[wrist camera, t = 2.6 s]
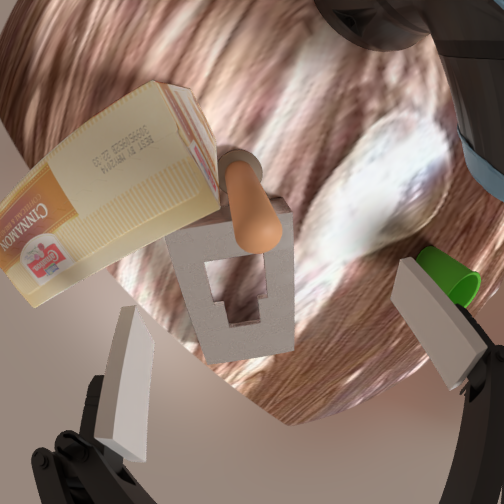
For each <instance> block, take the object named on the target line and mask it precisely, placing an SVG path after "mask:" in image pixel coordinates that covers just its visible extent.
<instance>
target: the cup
mask: <svg viewBox="0 0 504 504" xmlns="http://www.w3.org/2000/svg"><path fill="white" fill-rule="evenodd" d="M416 262H417V263H418V264H419V265H420V266H421V268H422V269H423V270H424V271H425V272H426V273H427V274H428V275H429V276H430V277H431V278H432V279H433V281H434V282H435V283H436V284H437V285H438V286H439V287H440V288H441V289H442V291H443V292H444V293H445V294H446V295H447V296H448V298H449V299H450V300H451V301H452V302H453V303H454V304H457V303H458V304H460V305H461V306H463V307H464V308H466V307H467V306H468V305H469V304H470V302H471V301H472V300H473V298H474V297H475V295H476V293H477V291H478V289H479V286H480V282H481V278H480V275H479V273H478V272H476V271H471V270H470V269H468V268H467V267H466V266H464V265H463V264H461V263H459V262H458V261H456V260H455V259H453V258H452V257H450V256H449V255H447V254H446V253H444V252H442V251H441V250H439V249H438V248H436V247H433V246H428V247H426V248H424V249H423V250H422V251H421V252H420V253H419V255H418V257H417V259H416Z"/></svg>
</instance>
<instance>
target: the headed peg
mask: <svg viewBox="0 0 504 504" xmlns="http://www.w3.org/2000/svg"><path fill="white" fill-rule="evenodd" d="M217 165H218V182H219V187H220V188H221V189H222V190H223V191H224V192H225V193H227V194H228V199H229V205H230V211H231V217H232V222H233V228H234V234H235V239H236V242H237V244H238V245H239V247H240V248H241V249H243V250H244V251H246V252H249V253H253V254H261V253H265V252H268V251H270V250H271V249H273V248H274V247H275V246H276V245H277V244H278V243H279V241H280V239H281V237H282V225H281V223H280V220H279V218H278V217H277V215H276V213H275V211H274V209H273V207H272V205H271V203H270V201H269V199H268V197H267V195H266V193H265V191H264V189H263V187H262V186H261V184H260V182H261V180H262V167H261V164H260V162H259V161H258V159H257V158H256V157H255V156H254V155H253V154H252V153H250V152H248V151H245V150H232V151H229V152H227V153H226V154H224V155H223V156H222V157H221V158H220V159H219V161H218V163H217Z"/></svg>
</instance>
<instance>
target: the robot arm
mask: <svg viewBox="0 0 504 504" xmlns="http://www.w3.org/2000/svg"><path fill="white" fill-rule="evenodd" d="M314 1H315V4H316V6H317V8H318V9H319V11H320V13H321V14H322V16H323V17H324V18H325V20H326V21H327V22H328V23H329V24H330V25H331V26H332V27H333V28H334V29H335V30H336V31H337V32H338V33H339V34H341V35H342V36H343V37H345V38H346V39H347V40H349V41H351V42H352V43H354V44H356V45H358V46H361V47H363V48H366V49H369V50H373V51H379V52H388V51H399V50H403V49H406V48H409V47H411V46H413V45H414V44H416V43H417V42H418V41H420V40H421V39H423V38H424V37H426V36H427V35H429V34H430V33H431V36H432V38H433V40H434V43H435V45H436V48H437V51H438V54H439V57H440V60H441V63H442V65H443V68H444V71H445V74H446V78H447V81H448V84H449V87H450V91H451V95H452V98H453V102H454V106H455V111H456V115H457V120H458V125H457V131H458V135H459V137H460V139H461V141H462V146H463V150H464V156H465V160H466V164H467V166H468V169H469V171H470V173H471V174H472V176H473V177H474V178H475V179H476V181H477V182H478V183H480V184H481V185H482V186H483V188H484V189H485V190H486V191H487V192H489V193H490V194H492V195H493V196H494V197H496V198H498V199H499V200H501V201H503V202H504V0H314ZM390 300H391V301H392V302H393V304H394V305H395V307H396V308H397V309H398V311H399V312H400V314H401V315H402V317H403V318H404V319H405V321H406V322H407V324H408V325H409V327H410V328H411V330H412V331H413V333H414V334H415V336H416V337H417V339H418V340H419V342H420V343H421V345H422V346H423V348H424V350H425V351H426V353H427V354H428V356H429V357H430V359H431V361H432V362H433V364H434V365H435V367H436V369H437V370H438V372H439V374H440V375H441V377H442V378H443V380H444V382H445V384H446V385H447V387H448V389H449V390H452V389H454V388H455V387H457V386H459V385H461V383H462V382H463V381H464V380H465V378H466V377H467V378H468V380H469V381H468V382H467V384H466V385H465V386H464V387H463V389H462V390H461V391H460V395H461V394H462V393H463V392H464V391H465V390H466V393H465V394H464V396H465V403H464V410H463V416H462V421H461V427H460V432H459V437H458V442H457V446H456V450H455V455H454V459H453V462H452V466H451V469H450V473H449V476H448V479H447V482H446V485H445V488H444V491H443V494H442V497H441V500H440V502H439V504H497V503H498V499H499V495H500V491H501V488H502V498H501V504H504V346H502V345H495V344H494V343H493V342H492V341H491V339H490V338H489V337H488V336H487V334H486V333H485V332H484V330H483V329H482V328H481V326H480V325H479V324H477V322H476V320H475V319H474V318H472V315H471V314H470V313H469V312H468V310H467V309H466V308H464V307H463V306H461V305H460V304H458V303H457V304H454V303H453V302H452V301H451V300H450V299H449V298H448V296H447V295H446V294H445V293H444V292H443V291H442V289H441V288H440V287H439V286H438V285H437V284H436V283H435V282H434V281H433V279H432V278H431V277H430V276H429V275H428V274H427V273H426V272H425V271H424V270H423V269H422V268H421V266H420V265H419V264H418V263H417V262H416V261H415V260H414V259H413V258H412V257H408V258H404V259H400V262H399V266H398V271H397V275H396V279H395V283H394V287H393V291H392V295H391V298H390ZM154 344H155V343H154V341H153V339H152V337H151V335H150V333H149V331H148V329H147V327H146V325H145V323H144V321H143V319H142V317H141V315H140V313H139V311H138V308H137V306H136V305H135V306H127V307H122V308H121V312H120V315H119V319H118V322H117V326H116V329H115V333H114V337H113V341H112V345H111V349H110V353H109V357H108V362H107V366H106V371H105V375H95V376H94V378H93V379H92V381H91V382H90V384H89V386H88V391H87V395H86V396H87V398H86V400H85V406H84V410H83V415H82V420H81V426H80V432H79V434H77V433H76V432H74V431H72V430H66V431H64V432H61V433H60V435H58V436H57V438H56V441H55V452H51V451H50V450H48V449H46V448H43V447H42V448H38V449H36V450H35V451H34V453H33V455H32V458H31V464H32V469H33V473H34V477H35V481H36V485H37V489H38V493H39V496H40V499H41V503H42V504H157V503H156V502H155V501H154V500H153V499H152V498H151V497H150V495H149V494H148V493H147V492H146V491H145V490H144V489H143V487H142V486H141V485H140V484H139V483H138V482H137V480H136V479H135V478H134V477H133V475H132V474H131V473H130V472H129V470H128V469H127V468H126V466H124V465H123V458H125V459H126V460H128V461H133V462H146V445H147V422H148V406H149V393H150V381H151V371H152V361H153V353H154Z"/></svg>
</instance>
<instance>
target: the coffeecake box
mask: <svg viewBox="0 0 504 504" xmlns="http://www.w3.org/2000/svg"><path fill="white" fill-rule="evenodd" d="M219 209H220V194H219V182H218V165H217V152H216V139H215V137H214V135H213V133H212V131H211V128H210V126H209V124H208V122H207V120H206V118H205V116H204V114H203V112H202V110H201V108H200V106H199V104H198V102H197V100H196V98H195V96H194V94H193V93H192V91H191V89H190V88H189V89H188V88H184V87H180V86H175V85H171V84H166V83H162V82H157V81H154V80H151V81H149V82H147V83H145V84H144V85H142V86H140V87H138V88H137V89H135V90H133V91H131V92H130V93H128V94H126V95H125V96H123V97H122V98H120V99H118V100H117V101H115V102H114V103H112V104H111V105H109V106H108V107H106V108H105V109H104V110H102V111H101V112H99V113H98V114H96V115H95V116H93V117H92V118H91V119H89V120H88V121H87V122H85V123H84V124H83V125H81V126H80V127H79V128H78V129H76V130H75V131H74V132H72V133H71V134H70V135H69V136H68V137H66V138H65V139H64V140H63V141H62V142H60V143H59V144H58V145H57V146H56V147H55V148H54V149H52V150H51V151H50V152H49V153H48V154H47V155H46V156H45V157H44V158H43V159H41V160H40V161H39V162H38V163H37V164H36V165H35V166H34V167H33V168H32V169H31V170H30V171H29V172H28V173H27V174H26V175H25V176H24V177H23V178H22V179H21V180H20V181H19V182H18V183H17V185H16V186H15V187H14V188H13V189H12V190H11V191H10V192H9V193H8V194H7V196H6V197H5V198H4V199H3V200H2V201H1V202H0V268H1V269H2V270H3V271H4V272H5V274H6V275H7V276H8V278H9V279H10V280H11V282H12V283H13V284H14V286H15V287H16V288H17V290H18V291H19V292H20V293H21V294H22V295H23V297H24V298H25V299H26V300H27V301H28V302H29V303H30V305H31V306H32V307H33V308H36V307H37V306H39V305H41V304H43V303H44V302H46V301H48V300H49V299H51V298H52V297H54V296H56V295H58V294H59V293H61V292H63V291H65V290H66V289H68V288H70V287H72V286H73V285H75V284H77V283H79V282H80V281H82V280H84V279H86V278H87V277H89V276H91V275H93V274H94V273H96V272H98V271H100V270H102V269H104V268H105V267H107V266H109V265H111V264H113V263H115V262H116V261H118V260H120V259H122V258H124V257H126V256H128V255H129V254H131V253H133V252H135V251H137V250H139V249H141V248H143V247H145V246H147V245H148V244H150V243H152V242H154V241H156V240H158V239H160V238H162V237H164V236H166V235H168V234H170V233H172V232H174V231H176V230H178V229H180V228H182V227H184V226H186V225H188V224H190V223H192V222H194V221H196V220H198V219H201V218H203V217H205V216H207V215H209V214H211V213H213V212H215V211H217V210H219Z"/></svg>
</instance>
